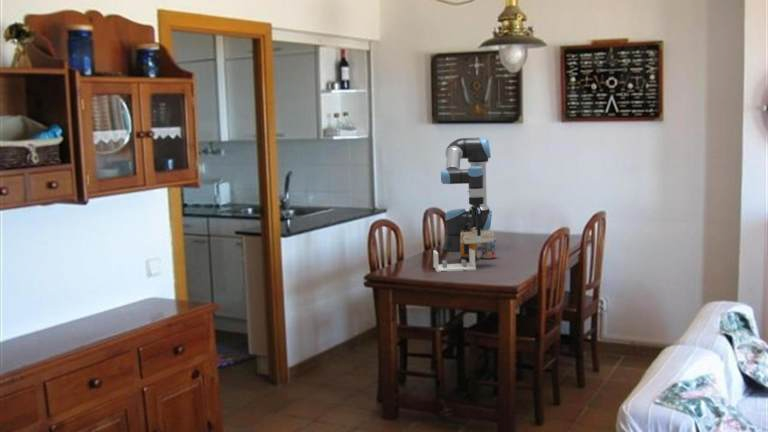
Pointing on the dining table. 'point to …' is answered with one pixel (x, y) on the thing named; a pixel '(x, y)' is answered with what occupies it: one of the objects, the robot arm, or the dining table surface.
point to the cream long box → (471, 237)
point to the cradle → (455, 267)
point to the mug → (488, 250)
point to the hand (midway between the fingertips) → (477, 240)
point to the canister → (465, 247)
